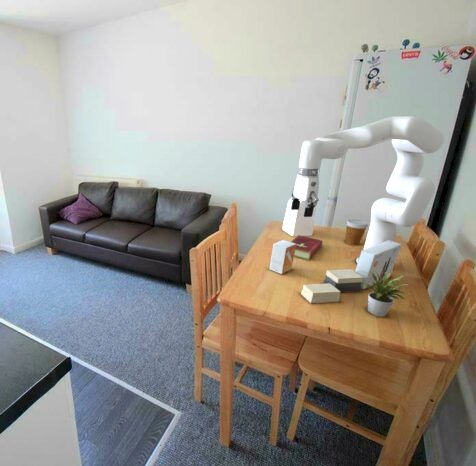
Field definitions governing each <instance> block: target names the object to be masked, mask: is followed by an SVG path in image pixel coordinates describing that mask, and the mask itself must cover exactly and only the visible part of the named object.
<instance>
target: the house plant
mask: <svg viewBox="0 0 476 466" xmlns="http://www.w3.org/2000/svg"><path fill="white" fill-rule="evenodd" d="M359 271H360V270H359ZM362 272H364V271H362ZM371 272H372V271H371ZM371 272H370V273H371ZM374 272H375V271H374ZM365 273H366V272H365ZM390 273H391V272H390ZM390 273H388V275H387V274H386V272H385V275H384V280H382V281H380V278H379V275H378V274H377V275H378V278H379V280H377V278H376V276H375V275H374V273H373V272H372V273H371V274H372V276H373V278H374V280H375V282H376V284H375V283H374V281H373V282H372V283H373V284H374V285H372V286H370V285H369V284H363V285H364V287H367V288H366V289H371V290H372V291H371V292H369V293H368V299H367V312H368V313H369V314H372V315H373V316H375V317H385V316H387V313H388V312H389V311H390V309H391V307H392V306H393V304H394V302H395V300H396V301H399V299H402V301H405V298H404V296H403V295H402V294H404V295H406V296H407V294H406V293H405V292H404V291H402V290H400V289H403V288H402V286H410V284H409V283H403V284H399V285H396V284H397V283H399V282H400V281H401V280H402V279H403V278H404V277H405V275H399V276H397V277H396V278H394V279H391V280H390V281H388V279H389V277H388V276H389V274H390ZM391 274H392V273H391ZM368 275H369V274H368ZM369 276H370V275H369ZM387 281H388V282H387ZM370 282H371V281H370ZM395 285H396V286H395ZM373 286H374V287H373Z"/></svg>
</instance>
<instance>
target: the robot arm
mask: <svg viewBox="0 0 476 466" xmlns="http://www.w3.org/2000/svg"><path fill="white" fill-rule="evenodd" d="M390 140H391V145H392V147H393V149H394V150H395V153H396V157H397V160H396V163H395V166H394V169H393V170H392V172H391V175H390V177H389V180H388V181H387V184H386V187H385V191H386V193H388V194H389V195H391V196H394V197H397V198H401V199H404V200H405V201H403V200H399V199H395V198H391V197H382V198H381V197H380V198H379V199H377V200H375V201H374V202H373V204H372V206H371V209H370V223H369V226H368V227H369V228H368V231H367V234H366V238H365V241H364V245H363V249H362V250H364V249H367V248H370V247H372V246H375V245H378V244H380V243H383V242H385V241H388V240H390V241H393V242H395V241H394V240H395V238H396V235H397V226H399V227H405V228H410V227H413V226H416V224H417V223H418V222H419V221H420V220H421V219H422V218H423V215H424V213H425V212H426V210H427V208H428V206H429V204H430V202H431V201H432V199H433V196H434V194H435V191H436V185H435V182H434V181H433V180H432V179H430V178H427V177H423V176H420V174H421V172H422V170H423V167H424V165H425V158H424V155H423V154H433V153H435V152H438V151H439V150H440V149H441V148H442V147H443V145H444V143H445V136H444V133H443V132H442V131H441V130H440V129H438V128H437V127H436V126H434V125H433V124H431V123H429V122H428V121H427V120H425V119H423V118H421V117H419V116H415V115H414V116H413V115H409V116H408V115H406V116H405V115H395V116H389V117H385V118H382V119H379V120H377V121H374V122H371V123H367V124H365V125H362V126H358V127H352V128H348V129H344V130H339V131H334V132H331V133H328V134H324V135H321V136H319V137H317V138H315V139H307V140H304V141H303V142H302V145H301V149H300V156H299V161H298V162H299V163H298V168H297V174H296V178H295V182H294V186H293V188H291V198H292V206H291V210H299V205H300V201H299V200H302V201H304V202H305V203H306V207H305V212H304V217H312V215H313V209H314V208H315V206H316V207H317V206H318V205H317V204H318V202H319V201H320V200H319V191H320V190H319V189H320V177H319V176H320V170H321V166H322V160H323V159H324V160H325V159H326V160H338V159H341V158H343V157H345V156H346V155H347V153H348V151H349V149H351V150H353V149H355V150H356V149H365V148H370V147H373V146H376V145H378V144H382V143H384V142H388V141H390ZM309 202H311V203H310V204H309ZM359 258H360V256H358V257H357V258H356V260H355V262H356V263H357V264H358V261H359ZM397 261H398V258H397V259H396V262H397Z"/></svg>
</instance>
